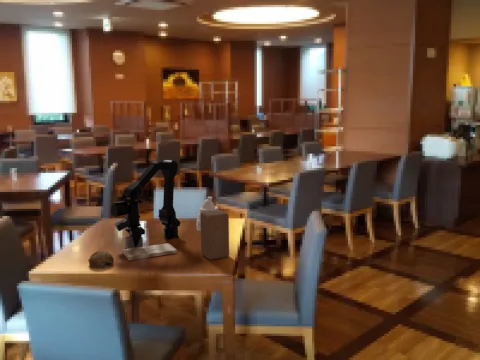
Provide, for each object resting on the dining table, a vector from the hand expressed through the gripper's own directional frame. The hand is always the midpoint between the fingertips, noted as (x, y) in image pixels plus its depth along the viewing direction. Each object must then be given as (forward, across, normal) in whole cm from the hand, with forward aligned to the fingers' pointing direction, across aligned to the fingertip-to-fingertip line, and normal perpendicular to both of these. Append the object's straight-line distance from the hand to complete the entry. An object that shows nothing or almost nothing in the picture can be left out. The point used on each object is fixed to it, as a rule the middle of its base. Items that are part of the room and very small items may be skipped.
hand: (134, 245), depth 228 cm
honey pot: (+1, -14, +44) cm, 46 cm away
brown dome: (+1, +18, -19) cm, 26 cm away
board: (+1, +12, +4) cm, 13 cm away
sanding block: (+1, 0, 0) cm, 1 cm away
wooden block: (+1, +30, +29) cm, 42 cm away
